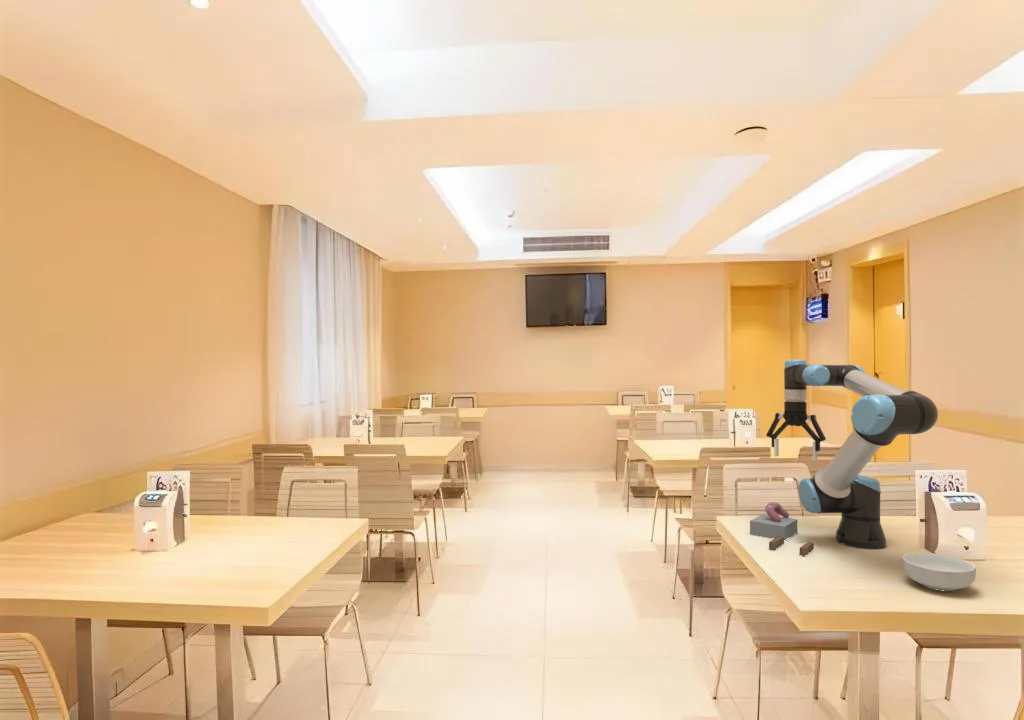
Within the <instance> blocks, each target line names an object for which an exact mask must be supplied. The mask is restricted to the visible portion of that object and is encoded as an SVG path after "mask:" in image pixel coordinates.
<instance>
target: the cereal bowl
mask: <svg viewBox="0 0 1024 720" xmlns="http://www.w3.org/2000/svg"><path fill="white" fill-rule="evenodd" d="M901 560H902V561H901V562H902V567H903V571H904V572H905V574H906V575H907V576H908V577H909V578H910V579H911V580H912V581H915V582H917V583H919V584H920V585H922V586H923V585H924V586H923V587H925V586H926V587H925V588H927V587H929V588H932V589H931V590H933V589H938V590H944V591H943V592H945V591H952V592H955V591H957V590H961V589H965V588H968V587H970V586H971V585H972V584H973V583H974V582H975V579H976V576H977V575H976V574H977V571H976V570H977V569H976V566H975V564H974V563H972V562H971V561H967V560H966V559H962V558H960V557H955V556H951V555H945V554H940V553H933V552H910V553H909V552H908V553H906V554H903V555H902V558H901ZM929 588H928V589H929ZM954 590H955V591H954Z"/></svg>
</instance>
